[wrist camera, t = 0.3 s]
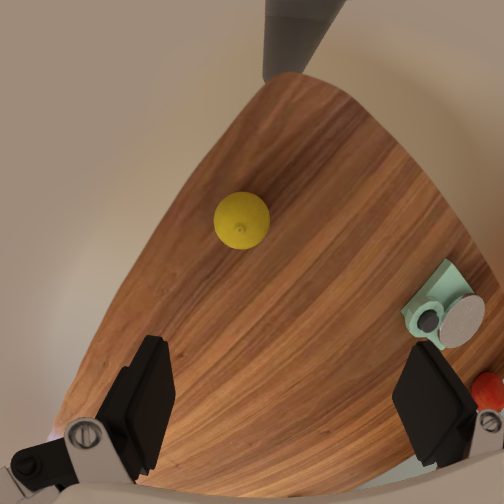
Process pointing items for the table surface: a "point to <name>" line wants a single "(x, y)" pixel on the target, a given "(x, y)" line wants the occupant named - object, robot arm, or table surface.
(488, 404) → the apple
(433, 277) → the scale
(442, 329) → the scale weighing pan
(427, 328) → the tare button
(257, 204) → the lemon
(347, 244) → the table surface
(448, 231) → the table surface
